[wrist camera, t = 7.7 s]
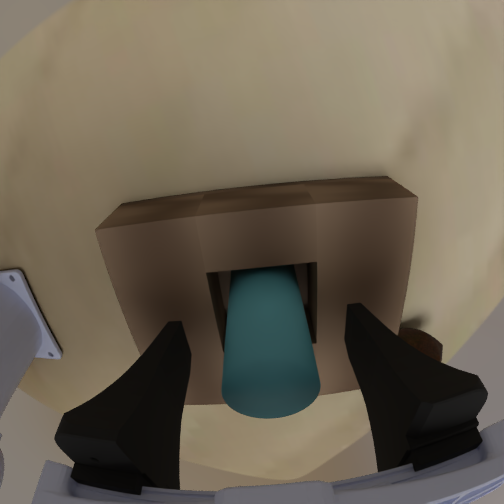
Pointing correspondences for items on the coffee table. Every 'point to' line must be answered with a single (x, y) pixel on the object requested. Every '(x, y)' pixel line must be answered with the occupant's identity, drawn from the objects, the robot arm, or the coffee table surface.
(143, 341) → the bore block
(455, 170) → the coffee table surface
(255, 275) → the pin
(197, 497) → the robot arm
